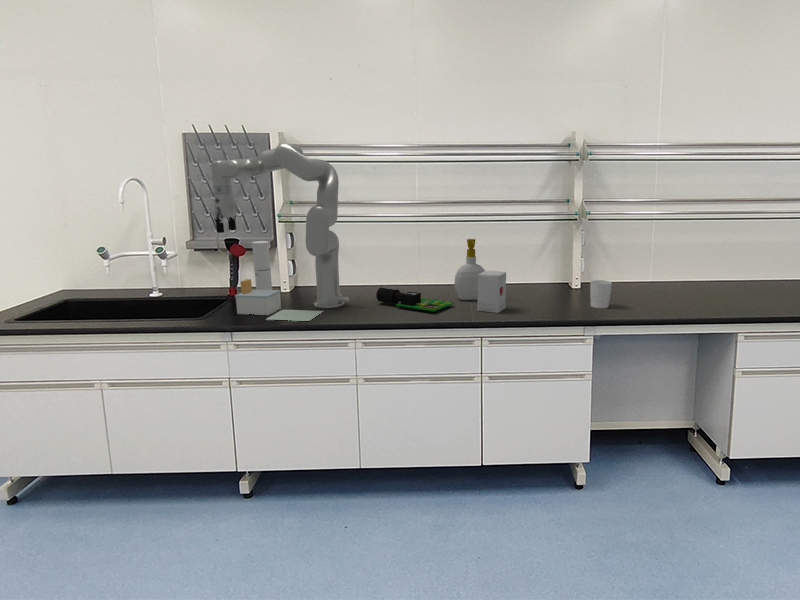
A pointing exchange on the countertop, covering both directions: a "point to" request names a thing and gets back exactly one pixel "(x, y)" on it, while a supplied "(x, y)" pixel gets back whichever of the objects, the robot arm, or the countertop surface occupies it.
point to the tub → (258, 305)
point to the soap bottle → (468, 275)
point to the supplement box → (491, 291)
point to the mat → (294, 315)
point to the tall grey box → (262, 265)
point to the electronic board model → (409, 300)
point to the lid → (254, 291)
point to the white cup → (600, 293)
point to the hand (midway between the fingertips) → (226, 231)
